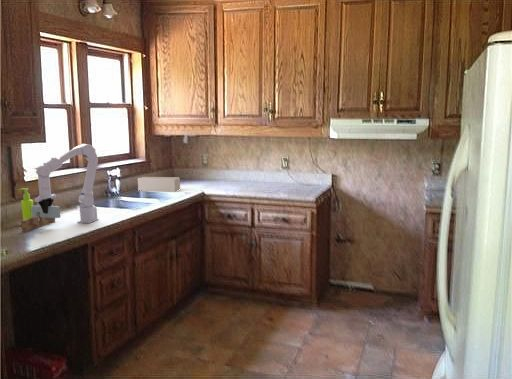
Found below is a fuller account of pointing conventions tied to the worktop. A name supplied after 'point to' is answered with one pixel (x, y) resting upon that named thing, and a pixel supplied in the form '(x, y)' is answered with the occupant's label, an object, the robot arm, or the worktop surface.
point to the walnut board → (35, 223)
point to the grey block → (52, 213)
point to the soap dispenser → (26, 204)
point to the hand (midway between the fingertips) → (46, 212)
